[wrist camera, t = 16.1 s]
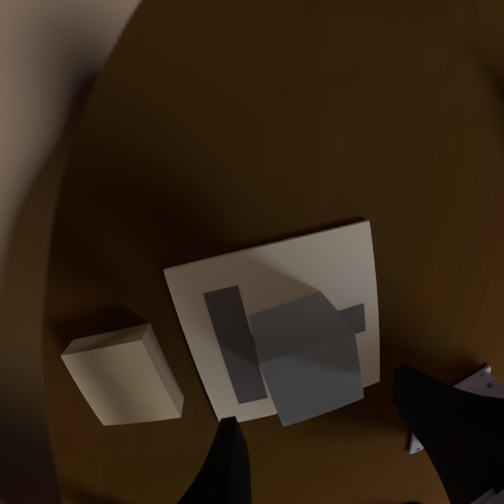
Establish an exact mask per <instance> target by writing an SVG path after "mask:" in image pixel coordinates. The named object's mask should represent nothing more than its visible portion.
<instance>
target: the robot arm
mask: <svg viewBox="0 0 504 504" xmlns="http://www.w3.org/2000/svg"><path fill="white" fill-rule="evenodd" d="M490 370H491V367H490V366H489V365H487V366H486V367H484V368H482V369H481V370H479V371H478V372H476V373H475V374H473V375H471V376H470V377H468V378H466V379H465V380H463V381H461V382H459V383H458V384H456V385H454V386H450V385H447V384H445V383H443V382H440V381H438V380H436V379H434V378H432V377H430V376H428V375H426V374H424V373H421V372H420V371H418V370H416V369H414V368H412V367H410V366H407V365H403V366H401V367H398V368H396V369H394V383H393V400H392V401H393V403H394V405H395V407H396V409H397V410H398V412H399V414H400V416H401V418H402V419H403V420H404V422H405V423H406V424H407V426H408V427H409V429H410V430H411V431H412V437H411V442H410V446H409V453H410V454H413V453H415V452H417V451H419V450H421V449H423V448H424V449H425V451H426V452H427V454H428V455H429V457H430V459H431V461H432V463H433V465H434V467H435V469H436V471H437V473H438V475H439V477H440V479H441V481H442V483H443V486H444V488H445V490H446V493H447V495H448V498H449V501H450V504H504V385H503V384H502V383H500V382H499V381H498V380H497V379H496V378H494V377H493V376H492V375H491V374H490ZM177 504H252V502H251V476H250V461H249V454H248V449H247V444H246V441H245V439H244V436H243V434H242V431H241V429H240V426H239V424H238V421H237V418H236V416H232V417H226V418H221V420H220V422H219V425H218V429H217V432H216V435H215V438H214V440H213V443H212V445H211V448H210V450H209V453H208V455H207V457H206V459H205V461H204V463H203V465H202V467H201V469H200V471H199V473H198V474H197V476H196V478H195V479H194V481H193V483H192V484H191V486H190V487H189V488H188V490H187V491H186V492H185V494H184V495H183V496H182V498H181V499H180V500H179V501H178V503H177Z"/></svg>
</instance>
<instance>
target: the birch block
mask: <svg viewBox="0 0 504 504" xmlns="http://www.w3.org/2000/svg"><path fill="white" fill-rule="evenodd" d="M61 358H62V359H63V361H64V363H65V365H66V367H67V368H68V370H69V372H70V374H71V375H72V377H73V379H74V381H75V382H76V384H77V386H78V387H79V389H80V391H81V392H82V394H83V395H84V397H85V399H86V400H87V402H88V403H89V405H90V406H91V408H92V409H93V411H94V412H95V414H96V415H97V417H98V418H99V420H100V421H101V422H102V424H103V425H118V424H130V423H140V422H149V421H158V420H165V419H172V418H179V417H181V413H182V405H183V399H184V396H183V394H182V392H181V390H180V388H179V386H178V384H177V382H176V380H175V378H174V376H173V374H172V372H171V370H170V368H169V366H168V363H167V361H166V359H165V357H164V355H163V353H162V350H161V348H160V346H159V344H158V341H157V339H156V337H155V334H154V332H153V330H152V327H151V325H150V323H147V324H143V325H138V326H134V327H130V328H125V329H121V330H117V331H112V332H107V333H103V334H98V335H94V336H89V337H84V338H79V339H75V340H73V341H72V342H71V343H70V345H69V346H68V347H67V348H66V349H65V351H64V352H63V353H62V354H61Z"/></svg>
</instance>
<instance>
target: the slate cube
mask: <svg viewBox="0 0 504 504" xmlns="http://www.w3.org/2000/svg"><path fill="white" fill-rule="evenodd" d="M249 318H250V323H251V328H252V333H253V337H254V342H255V347H256V352H257V357H258V362H259V365H260V368H261V371H262V373H263V376H264V379H265V381H266V384H267V387H268V389H269V392H270V395H271V397H272V400H273V402H274V405H275V408H276V410H277V413H278V415H279V418H280V421H281V423H282V426H283V427H284V426H288V425H291V424H294V423H297V422H301V421H304V420H307V419H310V418H313V417H316V416H318V415H321V414H324V413H327V412H330V411H332V410H335V409H338V408H340V407H343V406H345V405H348V404H350V403H353V402H355V401H358V400H360V399H363V398H364V394H363V386H362V378H361V370H360V363H359V356H358V350H357V343H356V337H355V331H354V329H353V328H352V327H351V326H350V325H349V323H348V322H347V321H346V320H345V319H344V318H343V316H342V315H341V314H340V313H339V312H338V311H337V309H336V308H335V307H334V306H333V305H332V304H331V302H330V301H329V300H328V299H327V298H326V297H325V295H324V294H323V293H322V292H319V293H316V294H314V295H311V296H308V297H305V298H302V299H299V300H296V301H293V302H290V303H287V304H284V305H281V306H278V307H275V308H272V309H269V310H265V311H262V312H259V313H256V314H253V315H250V316H249Z"/></svg>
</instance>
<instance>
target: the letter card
mask: <svg viewBox="0 0 504 504" xmlns="http://www.w3.org/2000/svg"><path fill="white" fill-rule="evenodd" d="M164 274H165V277H166V281H167V284H168V287H169V290H170V293H171V296H172V299H173V302H174V305H175V308H176V311H177V314H178V317H179V320H180V323H181V326H182V329H183V332H184V334H185V337H186V340H187V343H188V345H189V348H190V351H191V353H192V356H193V359H194V361H195V364H196V367H197V369H198V372H199V374H200V377H201V379H202V382H203V384H204V387H205V389H206V392H207V394H208V397H209V399H210V401H211V404H212V406H213V408H214V411H215V413H216V415H217V418H218V420H219V422H220V420H221V418H226V417H232V416H236V418H237V421H238V422H241V421H246V420H251V419H256V418H261V417H265V416H269V415H274V414H278V413H277V410H276V408H275V405H274V402H273V400H272V397H271V395H270V392H269V389H268V387H267V384H266V381H265V379H264V376H263V373H262V371H261V368H260V365H259V362H258V357H257V352H256V347H255V342H254V337H253V333H252V328H251V323H250V318H249V316H250V315H253V314H256V313H259V312H262V311H265V310H269V309H272V308H275V307H278V306H281V305H284V304H287V303H290V302H293V301H296V300H299V299H302V298H305V297H308V296H311V295H314V294H316V293H319V292H322V293H323V294H324V295H325V297H326V298H327V299H328V300H329V301H330V302H331V304H332V305H333V306H334V307H335V308H336V309H337V311H338V312H339V313H340V314H341V315H342V316H343V318H344V319H345V320H346V321H347V322H348V323H349V325H350V326H351V327H352V328H353V329H354V331H355V337H356V343H357V350H358V356H359V363H360V370H361V378H362V386H363V388H364V387H366V386H369V385H372V384H374V383H377V382H380V346H379V318H378V301H377V287H376V275H375V264H374V255H373V246H372V238H371V230H370V223H369V221H367V220H365V221H361V222H357V223H352V224H348V225H344V226H340V227H336V228H331V229H327V230H323V231H319V232H315V233H310V234H306V235H302V236H298V237H294V238H289V239H285V240H281V241H277V242H273V243H269V244H264V245H260V246H256V247H252V248H248V249H244V250H240V251H235V252H231V253H227V254H223V255H219V256H215V257H211V258H207V259H202V260H198V261H194V262H190V263H186V264H182V265H178V266H174V267H170V268H165V269H164Z"/></svg>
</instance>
